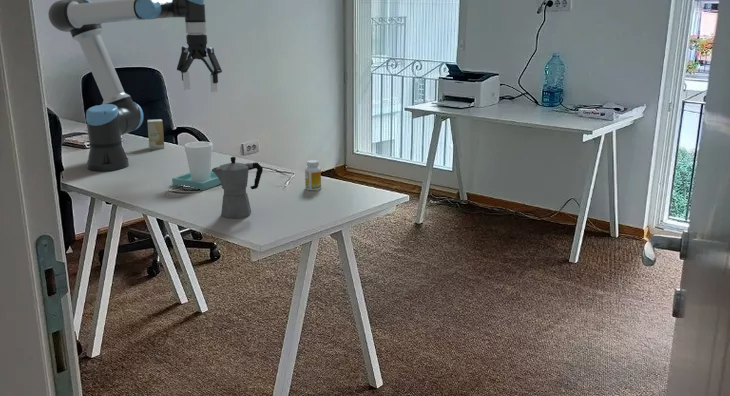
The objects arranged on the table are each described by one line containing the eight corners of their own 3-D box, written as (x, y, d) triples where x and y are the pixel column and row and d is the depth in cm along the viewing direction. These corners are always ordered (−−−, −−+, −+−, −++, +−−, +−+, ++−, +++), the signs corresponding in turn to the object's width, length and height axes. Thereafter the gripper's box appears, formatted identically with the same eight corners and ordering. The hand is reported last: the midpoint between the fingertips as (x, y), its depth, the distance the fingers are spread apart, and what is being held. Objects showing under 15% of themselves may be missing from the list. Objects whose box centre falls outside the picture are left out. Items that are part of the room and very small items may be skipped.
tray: (172, 185, 241) (171, 178, 240) (199, 175, 252) (199, 169, 252) (203, 190, 234) (202, 183, 233) (229, 180, 246) (229, 174, 245)
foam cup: (218, 177, 247) (215, 141, 243) (209, 184, 238) (207, 147, 234) (192, 176, 248) (190, 141, 244) (183, 183, 239) (180, 147, 235)
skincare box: (149, 149, 294) (147, 121, 290) (149, 147, 298) (146, 119, 294) (165, 148, 296) (162, 120, 292) (164, 146, 300) (161, 118, 296)
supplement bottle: (323, 187, 238) (323, 160, 235) (317, 191, 233) (316, 163, 230) (309, 185, 240) (308, 158, 237) (303, 189, 235) (302, 162, 232)
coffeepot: (217, 221, 203) (213, 162, 198) (212, 212, 212) (208, 155, 206) (268, 215, 209) (265, 157, 203) (261, 206, 217) (258, 151, 212)
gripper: (229, 34, 254) (232, 91, 260) (178, 32, 265) (182, 87, 271) (215, 35, 247) (219, 94, 253) (164, 33, 259) (169, 89, 265)
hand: (200, 90), depth 262 cm, fingers open, 13 cm apart
